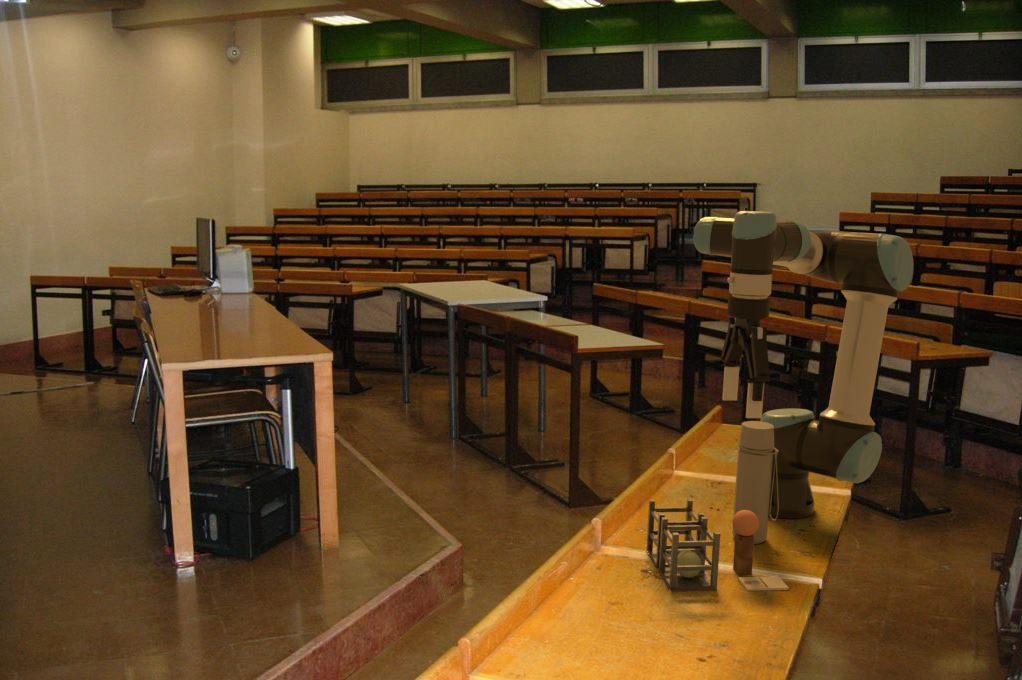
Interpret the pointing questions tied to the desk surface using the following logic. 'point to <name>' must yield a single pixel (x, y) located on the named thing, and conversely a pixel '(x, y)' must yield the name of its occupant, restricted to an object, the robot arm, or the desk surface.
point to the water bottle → (755, 474)
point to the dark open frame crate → (702, 578)
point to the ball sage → (688, 563)
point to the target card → (763, 583)
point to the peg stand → (743, 554)
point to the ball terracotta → (745, 523)
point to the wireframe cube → (651, 533)
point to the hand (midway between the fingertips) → (741, 408)
